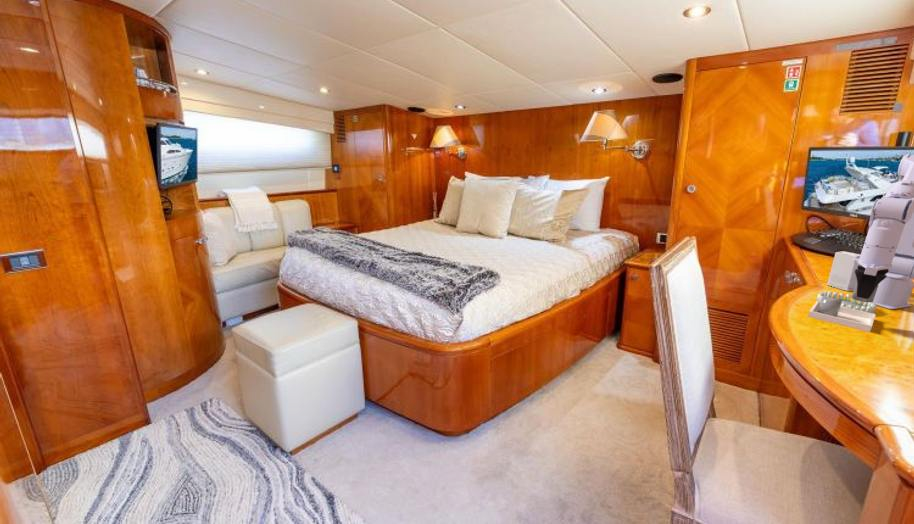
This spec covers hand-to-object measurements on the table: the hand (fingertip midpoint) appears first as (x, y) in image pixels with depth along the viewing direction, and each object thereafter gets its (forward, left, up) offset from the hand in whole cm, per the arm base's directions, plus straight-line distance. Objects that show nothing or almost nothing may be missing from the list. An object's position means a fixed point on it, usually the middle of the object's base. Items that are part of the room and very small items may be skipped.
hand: (863, 295), depth 101 cm
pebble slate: (+2, -5, -7) cm, 9 cm away
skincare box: (-30, -20, -8) cm, 37 cm away
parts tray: (+1, -2, -8) cm, 8 cm away
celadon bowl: (-11, -8, -8) cm, 16 cm away
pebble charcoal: (0, 0, -1) cm, 1 cm away
